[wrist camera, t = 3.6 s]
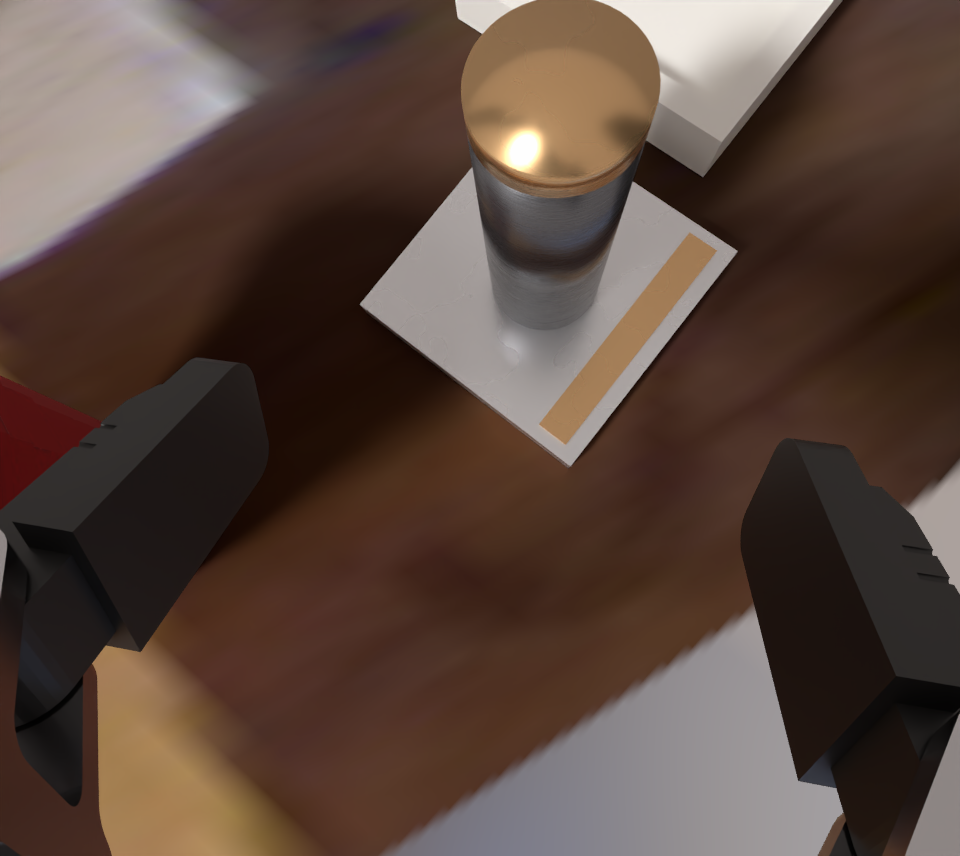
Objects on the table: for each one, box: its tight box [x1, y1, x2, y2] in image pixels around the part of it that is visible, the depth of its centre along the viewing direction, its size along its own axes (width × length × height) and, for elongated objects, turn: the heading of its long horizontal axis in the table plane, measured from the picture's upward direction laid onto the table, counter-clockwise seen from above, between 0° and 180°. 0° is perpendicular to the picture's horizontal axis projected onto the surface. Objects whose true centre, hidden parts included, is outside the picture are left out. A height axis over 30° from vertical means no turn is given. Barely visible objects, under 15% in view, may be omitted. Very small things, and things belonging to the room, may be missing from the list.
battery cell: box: [461, 0, 661, 330], centre depth 17 cm, size 4×4×10 cm
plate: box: [360, 168, 738, 468], centre depth 22 cm, size 10×10×1 cm
